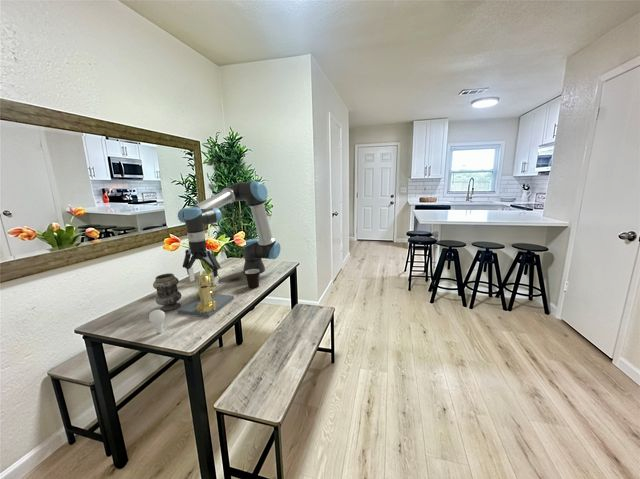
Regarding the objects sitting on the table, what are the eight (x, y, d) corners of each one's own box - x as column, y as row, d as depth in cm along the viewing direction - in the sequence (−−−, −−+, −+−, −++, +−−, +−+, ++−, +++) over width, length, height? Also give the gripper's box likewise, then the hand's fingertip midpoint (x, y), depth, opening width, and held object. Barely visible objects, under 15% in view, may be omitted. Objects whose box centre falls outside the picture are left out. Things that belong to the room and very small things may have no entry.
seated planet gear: (205, 292, 159) (202, 272, 156) (218, 293, 156) (215, 273, 153) (193, 299, 150) (190, 278, 147) (207, 300, 148) (204, 279, 145)
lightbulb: (153, 338, 118) (148, 315, 115) (151, 332, 123) (147, 310, 120) (168, 333, 121) (164, 310, 119) (166, 327, 126) (162, 305, 124)
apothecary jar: (174, 300, 154) (168, 270, 150) (187, 304, 148) (182, 273, 144) (152, 310, 144) (146, 278, 139) (166, 315, 138) (160, 281, 134)
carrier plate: (205, 295, 159) (203, 281, 157) (234, 298, 153) (232, 284, 151) (177, 313, 139) (174, 297, 137) (209, 317, 134) (206, 300, 132)
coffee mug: (257, 289, 164) (255, 274, 162) (244, 289, 166) (242, 273, 164) (264, 282, 175) (263, 267, 173) (252, 281, 177) (250, 267, 175)
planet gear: (205, 304, 144) (202, 282, 141) (220, 305, 141) (217, 284, 138) (193, 312, 135) (189, 289, 133) (208, 314, 133) (205, 291, 130)
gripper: (169, 241, 130) (177, 282, 135) (214, 243, 123) (220, 286, 128) (181, 237, 137) (188, 277, 142) (224, 239, 130) (230, 280, 135)
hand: (203, 281), depth 135 cm, fingers open, 13 cm apart
